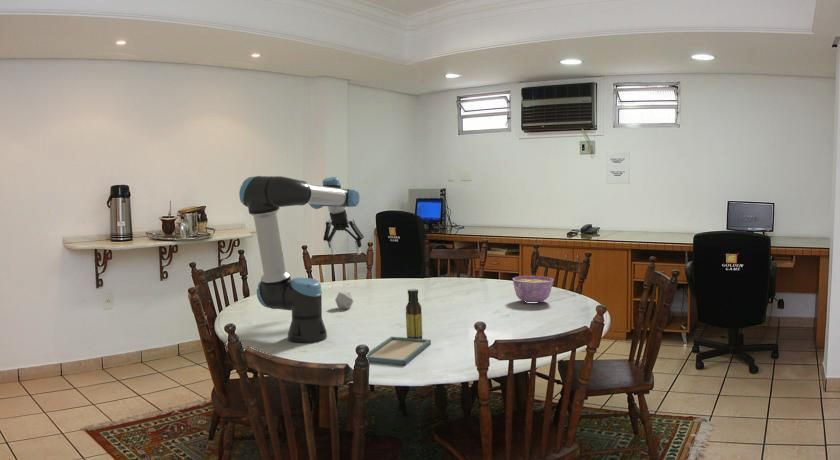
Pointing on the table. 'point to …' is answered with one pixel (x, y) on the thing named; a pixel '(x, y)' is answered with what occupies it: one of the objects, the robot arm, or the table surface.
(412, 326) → the sauce bottle
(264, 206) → the robot arm
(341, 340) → the table surface
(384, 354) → the teal tray
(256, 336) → the table surface
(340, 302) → the die
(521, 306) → the table surface
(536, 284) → the bowl of food
